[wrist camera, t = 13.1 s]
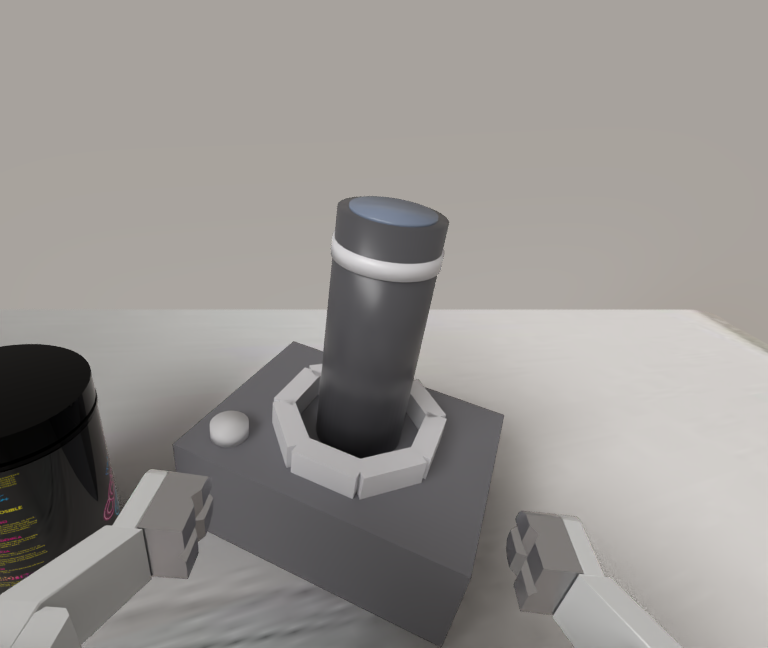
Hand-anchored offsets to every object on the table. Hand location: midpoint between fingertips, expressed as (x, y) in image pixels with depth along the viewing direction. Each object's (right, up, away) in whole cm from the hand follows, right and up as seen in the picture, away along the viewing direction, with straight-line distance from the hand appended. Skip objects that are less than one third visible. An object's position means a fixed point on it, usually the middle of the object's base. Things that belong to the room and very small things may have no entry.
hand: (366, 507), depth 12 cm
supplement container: (-18, -7, +12) cm, 22 cm away
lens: (-1, -1, +14) cm, 14 cm away
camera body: (-2, -6, +17) cm, 19 cm away
